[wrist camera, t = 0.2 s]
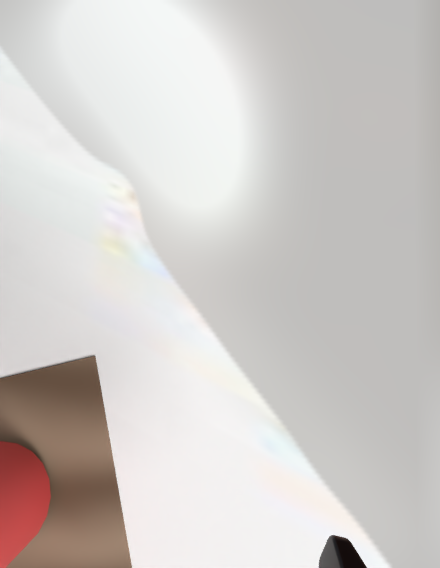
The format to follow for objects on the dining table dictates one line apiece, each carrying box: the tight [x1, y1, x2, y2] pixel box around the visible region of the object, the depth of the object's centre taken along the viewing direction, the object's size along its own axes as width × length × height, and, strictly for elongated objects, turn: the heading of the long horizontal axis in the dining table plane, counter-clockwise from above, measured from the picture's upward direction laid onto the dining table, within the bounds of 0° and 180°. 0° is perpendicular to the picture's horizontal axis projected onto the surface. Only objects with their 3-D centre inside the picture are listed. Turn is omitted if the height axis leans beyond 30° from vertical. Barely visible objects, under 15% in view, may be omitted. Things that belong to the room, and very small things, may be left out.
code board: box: [0, 356, 132, 568], centre depth 22 cm, size 14×14×1 cm
